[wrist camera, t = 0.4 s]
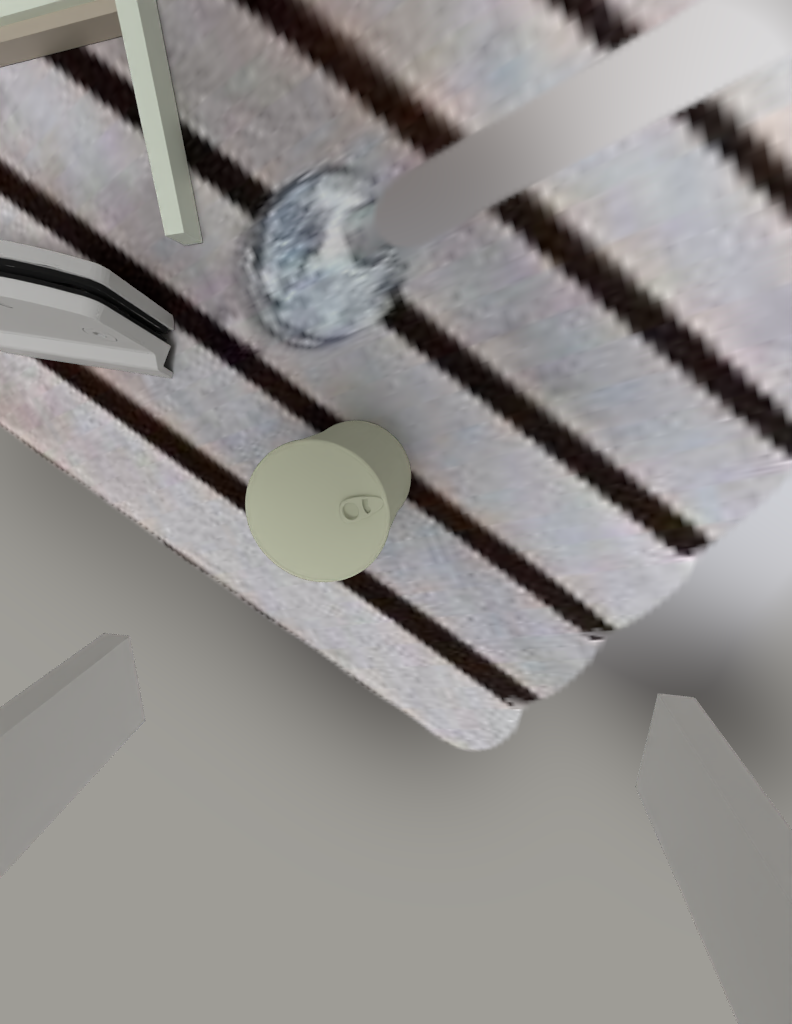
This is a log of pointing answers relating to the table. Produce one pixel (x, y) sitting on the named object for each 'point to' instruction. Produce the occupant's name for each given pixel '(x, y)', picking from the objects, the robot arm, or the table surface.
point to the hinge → (78, 313)
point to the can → (328, 500)
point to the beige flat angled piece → (134, 15)
